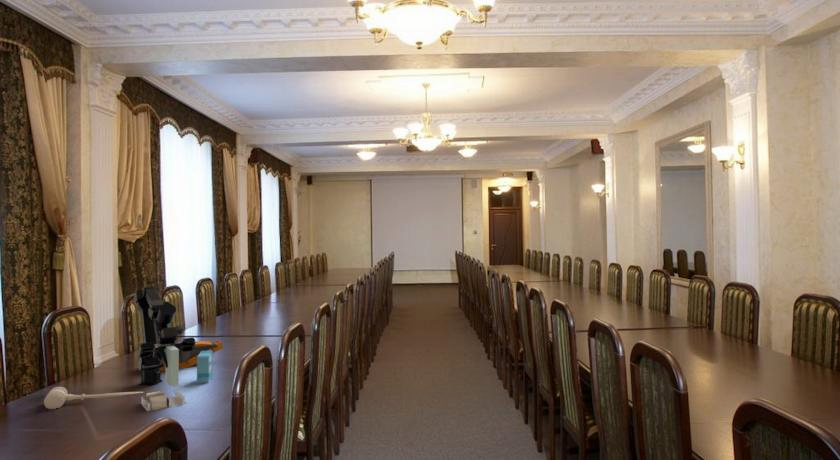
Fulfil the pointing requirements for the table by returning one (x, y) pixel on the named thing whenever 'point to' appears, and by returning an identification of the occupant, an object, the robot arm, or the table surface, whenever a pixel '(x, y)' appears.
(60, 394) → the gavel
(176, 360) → the pale green slab
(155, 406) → the offcut lower
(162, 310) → the robot arm
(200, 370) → the data package
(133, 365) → the table surface
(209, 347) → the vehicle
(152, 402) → the offcut upper
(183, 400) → the rack
